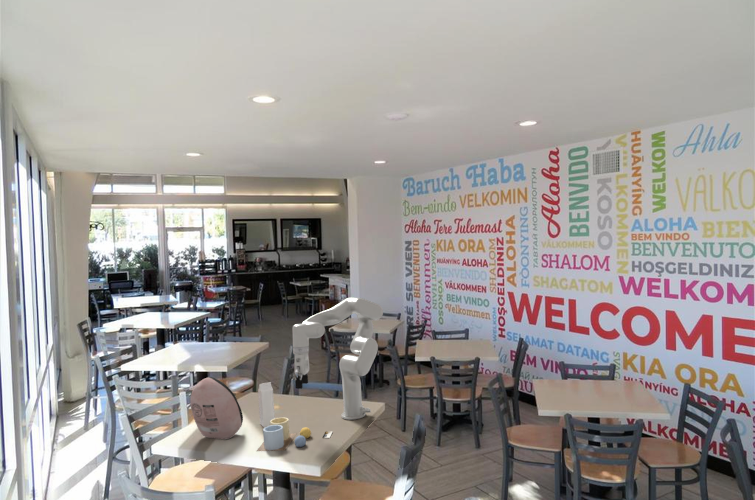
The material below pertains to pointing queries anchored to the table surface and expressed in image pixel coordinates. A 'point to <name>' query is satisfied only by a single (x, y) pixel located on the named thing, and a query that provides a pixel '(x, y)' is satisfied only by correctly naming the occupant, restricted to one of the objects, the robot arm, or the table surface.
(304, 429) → the ball ochre
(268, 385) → the milk
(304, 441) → the ball blue
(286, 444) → the tube board
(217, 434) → the packaged food
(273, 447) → the tube blue
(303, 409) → the table surface
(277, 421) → the tube
